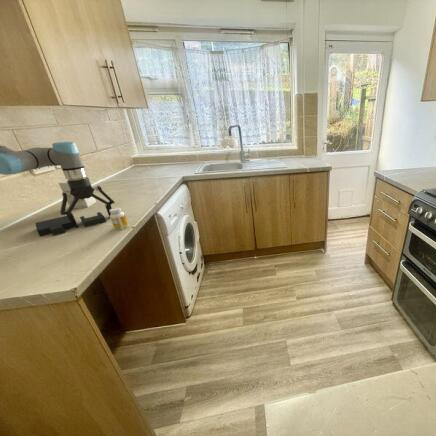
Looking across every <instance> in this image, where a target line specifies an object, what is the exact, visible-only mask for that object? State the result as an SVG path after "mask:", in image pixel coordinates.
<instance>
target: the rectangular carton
mask: <svg viewBox="0 0 436 436" xmlns="http://www.w3.org/2000/svg"><path fill="white" fill-rule="evenodd" d="M67 180H68V179H65V180H63V181H61V182H58V185H59V187H60V189H61V191H62V192H70V188H69V185H68V183H67ZM73 198H74V196H73V195H71V194H70V195H69V197H67V204H68V207H69V206H70V204H71V202H72V201H73ZM96 203H97V199H95V198H93V197H92V196H91V197H90V198H85V199H82V200H81V199H79V200H78V202H77V203H76V205H75V207H74V208H73V210H75V209H76V210H77V209H85V208H90V207H91V206H93V205H94V204H96Z"/></svg>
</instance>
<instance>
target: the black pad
mask: <svg viewBox="0 0 436 436" xmlns="http://www.w3.org/2000/svg"><path fill="white" fill-rule="evenodd" d="M79 218H80V221H81V223H82V225H83V226H84V227H85V228H89V227H90V228H91V227H93V226H97V225H100V224H103V223H104V224H105V223H107V219H106V217H105V215H103V213H101V211H98V212H96V215H93V216H89V217H85V215H82V216H79Z"/></svg>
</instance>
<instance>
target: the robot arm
mask: <svg viewBox="0 0 436 436" xmlns="http://www.w3.org/2000/svg"><path fill="white" fill-rule="evenodd" d="M53 166H54V167H55V166H60V168H61V170H62V172H63V176H64V177H65V180H67V183H68V185H69V188H70V192H63V191H62V192H61V194H62V201H61V205H60V210H59V214H60V215H61V216H68V219H69V221H70V222H71V221H73V222H74V224H75V227H74V228H79V225H78V223H77V221H76V218H75V216H74V214H73V210H74V209H73V208H74V207H75V205H76V203H77V202H78V200H79V199H81V200H82V199H85V198H90V197H91V196H92V197H93V198H95V200H96V201H97V200H98V201H99V202H100V203H102V204H104V206H105V209H106V212H107V215H108V217H109V218H110V215H111V213H110V211H109V210H110V209H113V208H112V205H113V204H115V201H114V199H112V198H111V197H110V196H109V195H108V194H106V192H105V191H104V190H103V189H102V187H101V186H100V185H96V186H94V187H93V186H92V183H91V180H90V178H89V177H88V173H87V170H86V168H85V165H84V162H83V159H82V157H81V153H80V151H79V148H78V146H77V144H76V143H75V142H73V141H58V142H57V141H56V142H53V143H52V147H31V148H28V149H24V150H14V149H12V148H10V147H7V146H5V145H3V144H1V143H0V175H4V176H9V175H16V174H21V173H24V172H28V171H32V170H37V169H42V168H47V167H53ZM95 191H96V192H99V193H100V194H101V195H102V196H103V197H105V198H106V199H107V200H108V201H107V200H105V199H103V198H101V197H100V196H98V195H96V194H95V193H94V192H95ZM70 194H71V195H73V196H74V198H73V201H72V202H71V204H70V206H69V205H68V208H67V204H68V202H67V197H69V195H70Z"/></svg>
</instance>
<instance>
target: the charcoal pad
mask: <svg viewBox="0 0 436 436" xmlns="http://www.w3.org/2000/svg"><path fill="white" fill-rule="evenodd" d="M35 228H36V232H37V234H38V236H39V237H44V236H47V235H51V234H52V236H53V237H54V236H58V235H62V234H65V233H66V230H69V229H73V228H76V227H75V224H74V222H73V221H71V222H70V221H69V219H68V216H67V215H62V216H59V217H55V218H51V219H47V220H42V221H37V222H35Z"/></svg>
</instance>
